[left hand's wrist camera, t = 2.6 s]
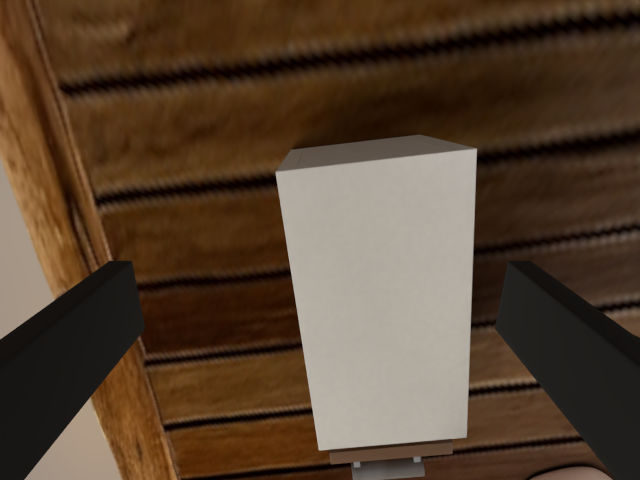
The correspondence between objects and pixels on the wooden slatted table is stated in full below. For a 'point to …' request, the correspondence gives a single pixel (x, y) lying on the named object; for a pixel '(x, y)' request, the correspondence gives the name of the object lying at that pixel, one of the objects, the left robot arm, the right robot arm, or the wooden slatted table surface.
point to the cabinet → (383, 285)
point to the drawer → (389, 459)
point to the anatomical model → (573, 474)
